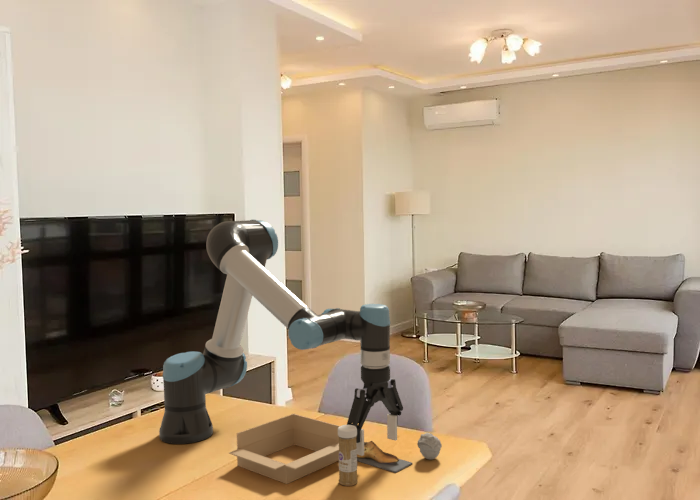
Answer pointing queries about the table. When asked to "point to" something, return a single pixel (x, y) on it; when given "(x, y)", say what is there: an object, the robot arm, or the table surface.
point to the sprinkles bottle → (347, 455)
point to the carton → (281, 436)
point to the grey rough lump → (429, 446)
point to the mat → (390, 467)
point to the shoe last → (377, 454)
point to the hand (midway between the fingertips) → (376, 446)
